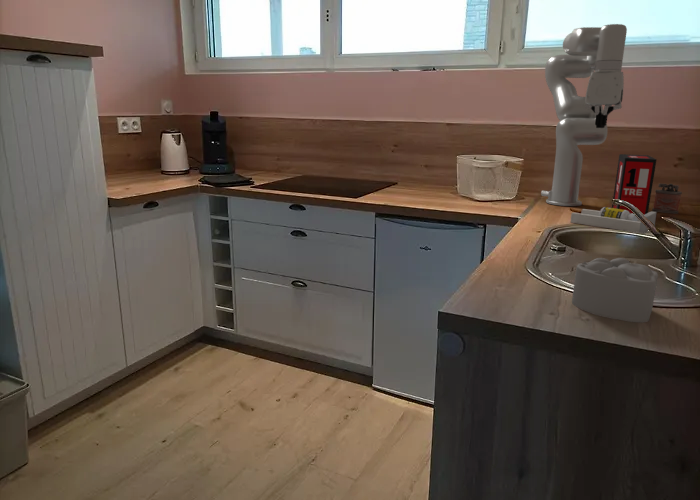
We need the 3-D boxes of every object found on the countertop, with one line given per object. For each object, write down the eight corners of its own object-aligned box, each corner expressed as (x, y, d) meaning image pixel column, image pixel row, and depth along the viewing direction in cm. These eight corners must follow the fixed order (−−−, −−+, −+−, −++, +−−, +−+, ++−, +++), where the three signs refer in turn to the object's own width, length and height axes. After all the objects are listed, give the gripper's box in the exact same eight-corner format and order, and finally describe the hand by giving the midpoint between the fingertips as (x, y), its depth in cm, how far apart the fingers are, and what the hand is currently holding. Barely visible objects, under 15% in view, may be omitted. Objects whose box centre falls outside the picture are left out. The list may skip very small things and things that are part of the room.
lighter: (678, 212, 192) (683, 184, 189) (677, 213, 189) (683, 185, 187) (652, 209, 196) (657, 182, 194) (651, 211, 193) (656, 183, 191)
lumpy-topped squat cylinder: (647, 325, 91) (655, 276, 88) (566, 309, 97) (571, 262, 95) (653, 307, 99) (661, 262, 97) (577, 293, 106) (583, 250, 104)
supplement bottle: (600, 206, 168) (633, 210, 161) (606, 207, 171) (639, 211, 164) (596, 223, 168) (629, 228, 161) (603, 224, 172) (636, 229, 165)
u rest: (570, 222, 172) (572, 206, 170) (582, 217, 179) (584, 202, 178) (644, 233, 158) (647, 216, 157) (653, 228, 165) (656, 212, 164)
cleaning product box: (611, 211, 192) (619, 154, 187) (639, 213, 190) (648, 155, 184) (616, 219, 177) (625, 158, 172) (646, 222, 175) (656, 159, 169)
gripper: (579, 67, 171) (572, 127, 175) (630, 65, 161) (621, 129, 166) (587, 68, 176) (580, 126, 181) (637, 67, 166) (628, 128, 171)
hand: (600, 127), depth 173 cm, fingers closed
